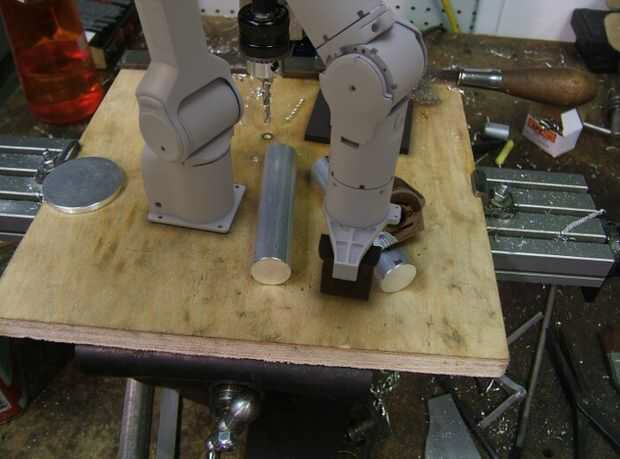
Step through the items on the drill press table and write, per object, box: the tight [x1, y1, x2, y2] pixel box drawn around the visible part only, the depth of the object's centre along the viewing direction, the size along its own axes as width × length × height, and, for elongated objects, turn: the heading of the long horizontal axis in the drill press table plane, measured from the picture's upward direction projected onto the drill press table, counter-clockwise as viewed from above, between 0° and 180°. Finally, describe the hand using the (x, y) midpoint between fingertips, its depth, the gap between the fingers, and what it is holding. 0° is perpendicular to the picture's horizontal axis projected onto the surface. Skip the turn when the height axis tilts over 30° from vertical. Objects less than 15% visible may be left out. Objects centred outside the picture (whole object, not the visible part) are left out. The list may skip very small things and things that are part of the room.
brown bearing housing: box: [381, 175, 426, 243], centre depth 63 cm, size 7×13×10 cm
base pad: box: [304, 88, 414, 155], centre depth 78 cm, size 14×12×3 cm
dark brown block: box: [319, 244, 375, 301], centre depth 57 cm, size 5×4×4 cm
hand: (347, 272), depth 57 cm, fingers closed on dark brown block, 4 cm apart
